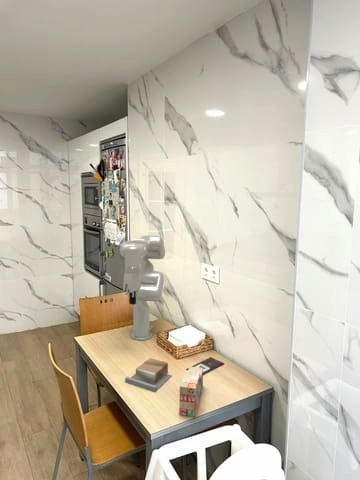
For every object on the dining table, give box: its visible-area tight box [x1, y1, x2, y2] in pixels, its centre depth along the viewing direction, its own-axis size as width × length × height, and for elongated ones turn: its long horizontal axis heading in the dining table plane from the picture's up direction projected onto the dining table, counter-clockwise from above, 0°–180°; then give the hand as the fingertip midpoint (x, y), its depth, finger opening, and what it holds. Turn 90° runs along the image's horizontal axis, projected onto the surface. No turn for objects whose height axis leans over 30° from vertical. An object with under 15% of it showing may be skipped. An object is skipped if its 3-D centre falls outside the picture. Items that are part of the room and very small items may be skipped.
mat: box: [124, 372, 173, 393], centre depth 159 cm, size 15×16×2 cm
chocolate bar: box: [185, 357, 225, 376], centre depth 171 cm, size 9×1×18 cm
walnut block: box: [135, 357, 169, 385], centre depth 161 cm, size 5×10×12 cm
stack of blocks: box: [178, 366, 204, 418], centre depth 142 cm, size 21×6×12 cm, turn 168°
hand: (132, 303), depth 181 cm, fingers closed
